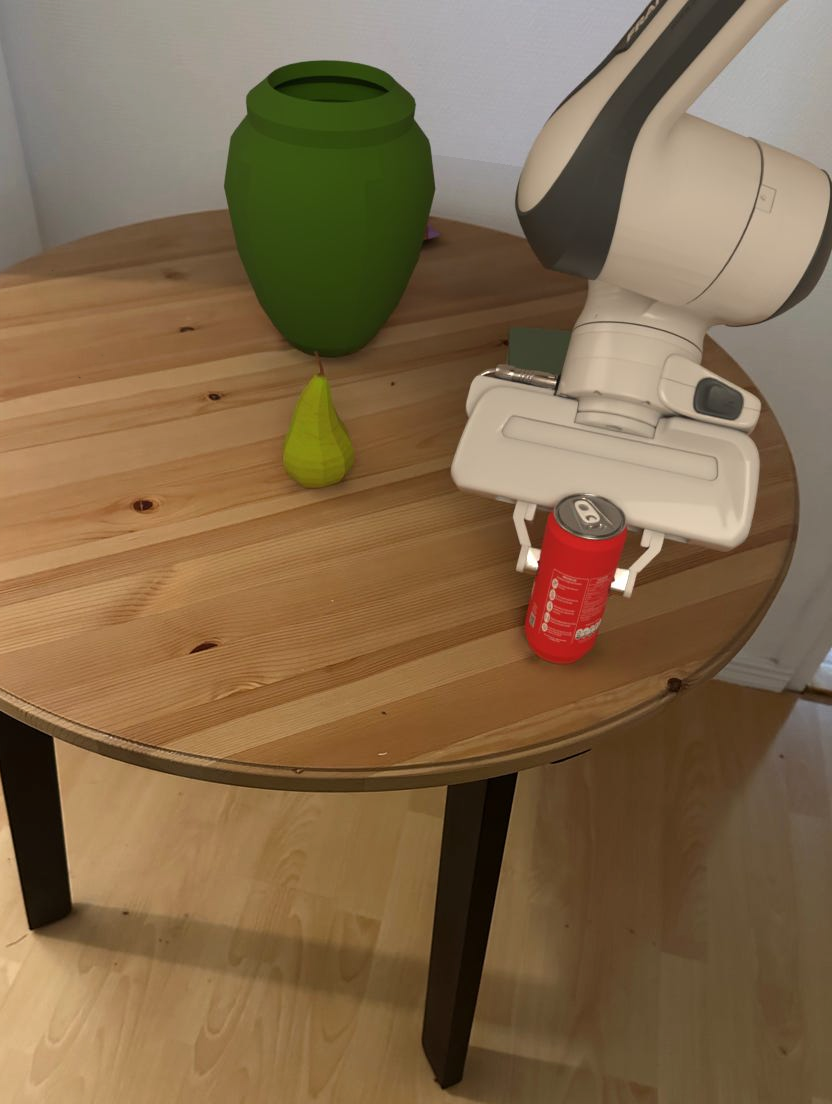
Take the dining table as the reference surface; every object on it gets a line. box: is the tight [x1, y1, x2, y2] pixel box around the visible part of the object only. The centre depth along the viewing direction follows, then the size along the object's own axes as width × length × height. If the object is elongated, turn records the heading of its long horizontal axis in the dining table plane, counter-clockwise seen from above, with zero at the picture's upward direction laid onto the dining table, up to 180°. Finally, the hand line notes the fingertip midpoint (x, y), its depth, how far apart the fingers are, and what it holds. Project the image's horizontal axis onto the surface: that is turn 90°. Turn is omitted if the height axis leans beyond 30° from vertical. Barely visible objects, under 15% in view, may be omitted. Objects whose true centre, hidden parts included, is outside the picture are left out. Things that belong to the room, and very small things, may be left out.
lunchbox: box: [505, 326, 573, 396], centre depth 90 cm, size 16×11×7 cm
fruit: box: [282, 351, 355, 489], centre depth 81 cm, size 6×6×12 cm
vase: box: [223, 59, 436, 357], centre depth 93 cm, size 20×20×24 cm
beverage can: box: [524, 493, 628, 665], centre depth 69 cm, size 5×5×12 cm
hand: (572, 584), depth 68 cm, fingers closed on beverage can, 5 cm apart
